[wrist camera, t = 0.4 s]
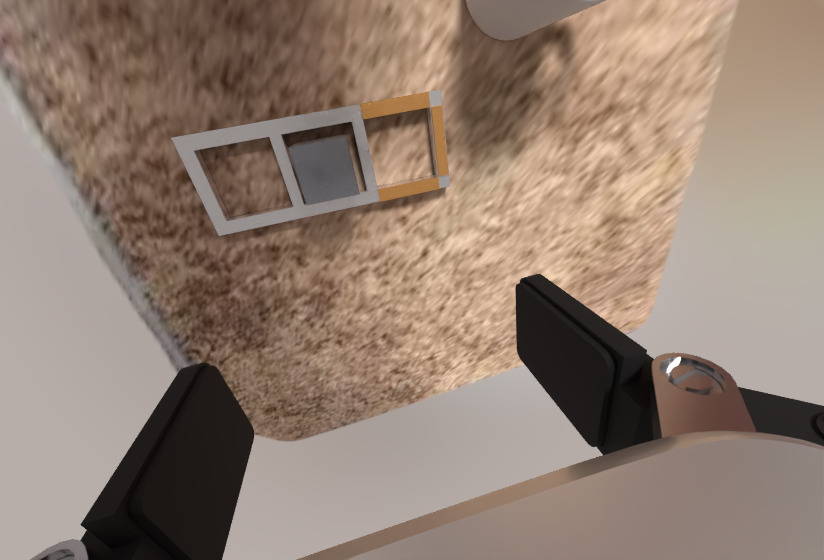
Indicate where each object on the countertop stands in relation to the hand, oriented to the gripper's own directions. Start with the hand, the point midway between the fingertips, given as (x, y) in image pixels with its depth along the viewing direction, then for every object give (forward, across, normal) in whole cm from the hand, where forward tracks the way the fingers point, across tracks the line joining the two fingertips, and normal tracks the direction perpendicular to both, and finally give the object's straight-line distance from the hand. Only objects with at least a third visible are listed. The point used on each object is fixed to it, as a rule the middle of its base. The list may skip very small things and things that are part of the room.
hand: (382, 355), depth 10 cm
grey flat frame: (+25, +1, -4) cm, 25 cm away
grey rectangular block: (+25, +1, -4) cm, 25 cm away
